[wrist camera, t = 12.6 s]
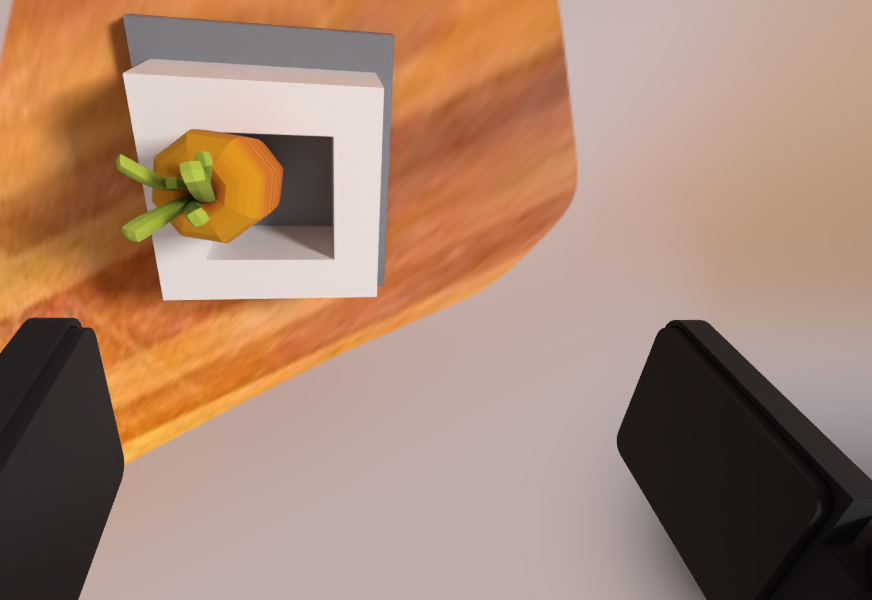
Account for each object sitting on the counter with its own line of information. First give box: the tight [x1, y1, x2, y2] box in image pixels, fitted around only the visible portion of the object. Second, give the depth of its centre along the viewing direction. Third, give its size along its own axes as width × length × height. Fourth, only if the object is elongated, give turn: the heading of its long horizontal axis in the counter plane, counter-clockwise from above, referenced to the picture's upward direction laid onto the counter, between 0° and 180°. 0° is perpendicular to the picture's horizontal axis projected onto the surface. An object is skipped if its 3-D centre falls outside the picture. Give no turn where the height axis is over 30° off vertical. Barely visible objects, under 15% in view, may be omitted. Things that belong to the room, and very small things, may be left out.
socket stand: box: [123, 14, 394, 300], centre depth 32 cm, size 16×14×6 cm
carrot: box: [116, 129, 283, 243], centre depth 27 cm, size 5×5×15 cm
